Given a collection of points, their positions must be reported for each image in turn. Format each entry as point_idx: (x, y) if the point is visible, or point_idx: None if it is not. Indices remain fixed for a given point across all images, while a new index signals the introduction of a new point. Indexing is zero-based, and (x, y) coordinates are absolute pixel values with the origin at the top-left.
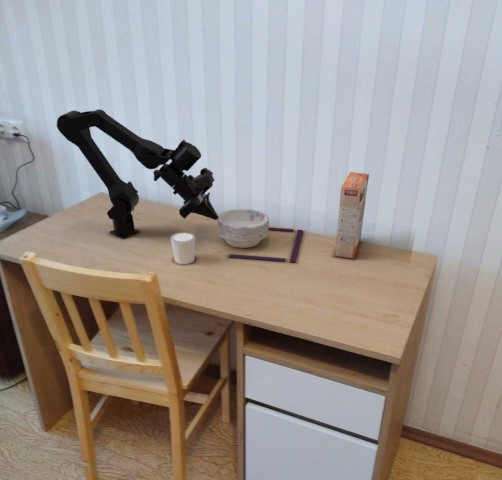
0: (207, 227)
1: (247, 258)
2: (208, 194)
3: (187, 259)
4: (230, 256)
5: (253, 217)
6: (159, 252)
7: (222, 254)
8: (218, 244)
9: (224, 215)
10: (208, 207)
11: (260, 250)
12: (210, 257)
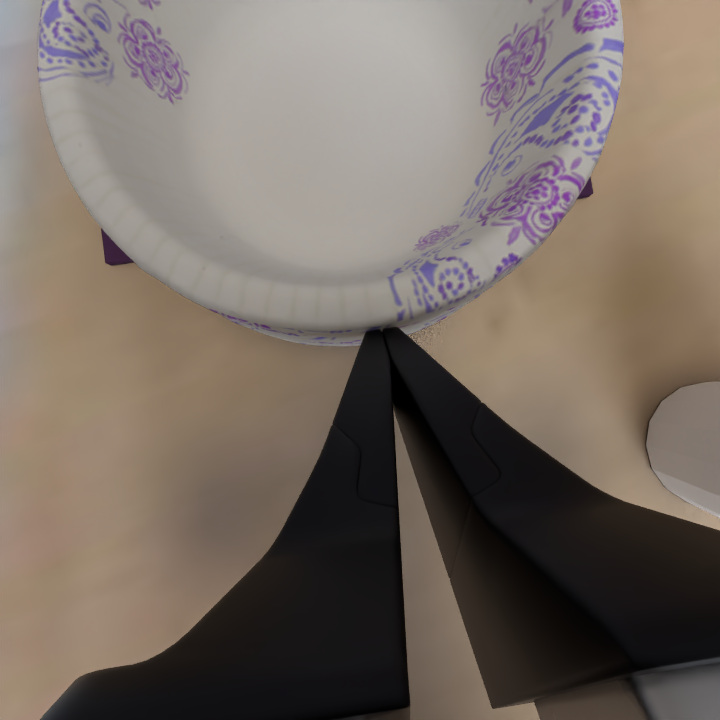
0: (195, 506)
1: None
2: (279, 684)
3: None
4: (591, 183)
5: (153, 43)
6: None
7: (558, 251)
8: (432, 327)
9: (297, 281)
10: (516, 443)
11: None
12: (621, 305)
